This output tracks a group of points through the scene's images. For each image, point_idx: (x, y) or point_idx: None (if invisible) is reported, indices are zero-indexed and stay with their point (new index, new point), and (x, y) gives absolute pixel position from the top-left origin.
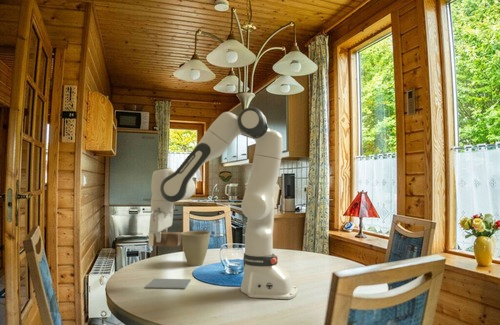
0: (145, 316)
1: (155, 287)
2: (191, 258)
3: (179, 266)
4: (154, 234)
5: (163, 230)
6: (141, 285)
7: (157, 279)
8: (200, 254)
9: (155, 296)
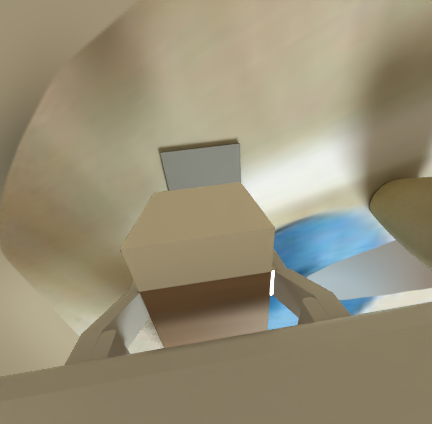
0: (7, 236)
1: (167, 182)
2: (387, 206)
3: (376, 162)
4: (144, 290)
5: (301, 310)
6: (183, 128)
7: (232, 158)
8: (392, 235)
9: (116, 206)
